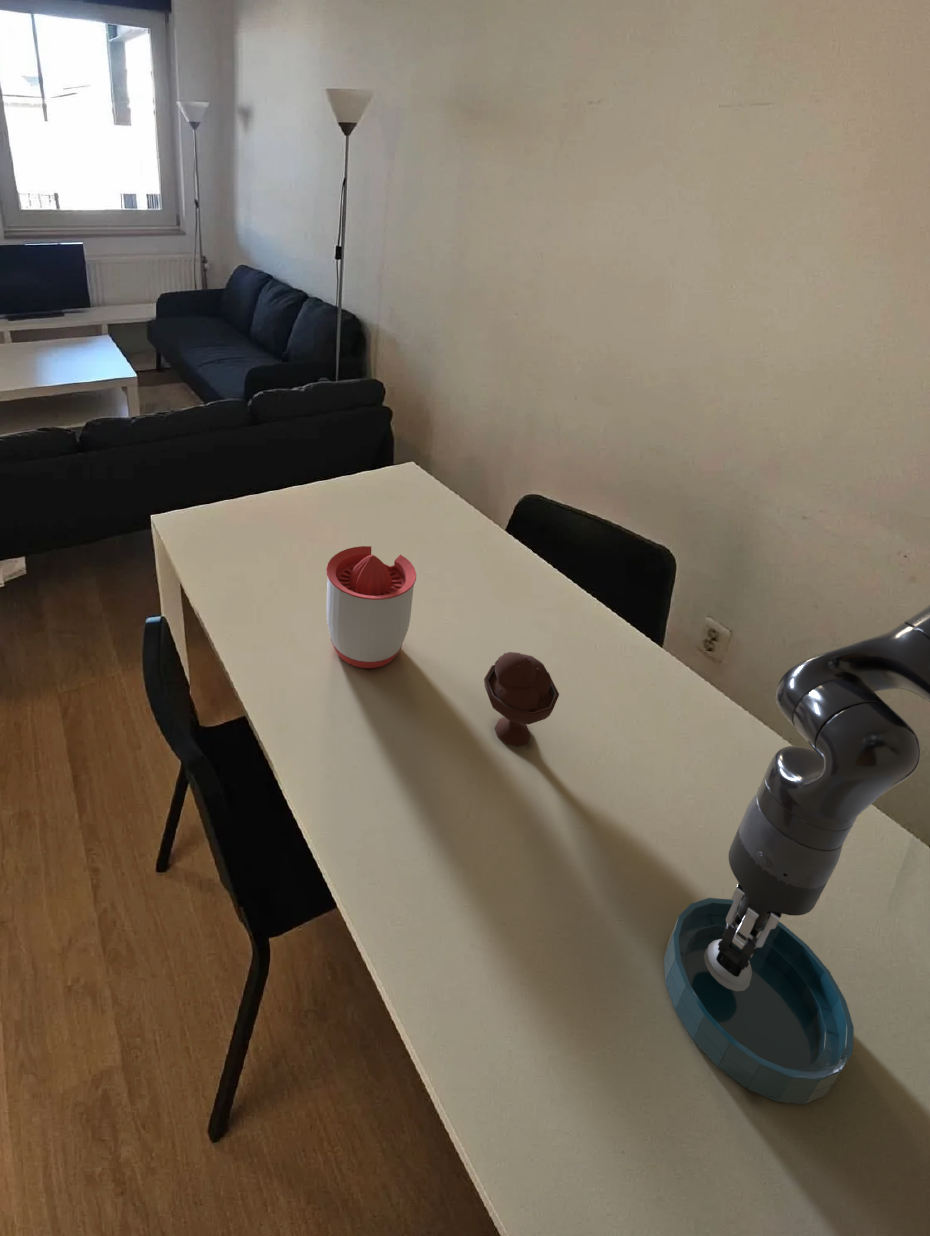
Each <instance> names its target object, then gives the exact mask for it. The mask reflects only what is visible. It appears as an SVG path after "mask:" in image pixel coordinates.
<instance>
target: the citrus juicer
mask: <svg viewBox="0 0 930 1236" xmlns="http://www.w3.org/2000/svg"><path fill="white" fill-rule="evenodd" d="M393 561H394V563H393V565H389V564H386V563H384V562H383V561H382V560H381V559H380V558H379V557H378V556H376V555H374V554H372V546H367V545H361V546H353V547H350V548H346V549H343V550H341V551H339V552H337V553H336V554H334V555H333V556H332V557H331V558H329V561H328V562H327V564H326V571H325V572H326V577H327V580H326V581H327V585H326V609H325V610H326V623H327V629H328V633H329V636H330V641H331V644H332V646H333V648H334V651H335V652H336V654H337V656H338V657H339V658H340V659H341V660H342V661H343V662H345V663H347V664H349V665H351V666H352V667H356V668H361V669H376V668H380V667H381V668H382V667H384V666H386V665H388V664H389V663H391V662H392V661H393V660H394V659H395V657H396V656H397V655H398V654H399V652H400V650H401V649H402V646H403V644H404V641H405V639H406V636H407V634H408V630H409V627H410V622H411V615H412V606H413V595H414V588H415V587H414V586H415V584H416V581H417V572H416V569H415V566H414V564H413V563H412V562H411V561H410V560H409V559H408V558H407V557H405V556H404V555H402V554H399V555H398V556H397V558H395V560H393Z"/></svg>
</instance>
